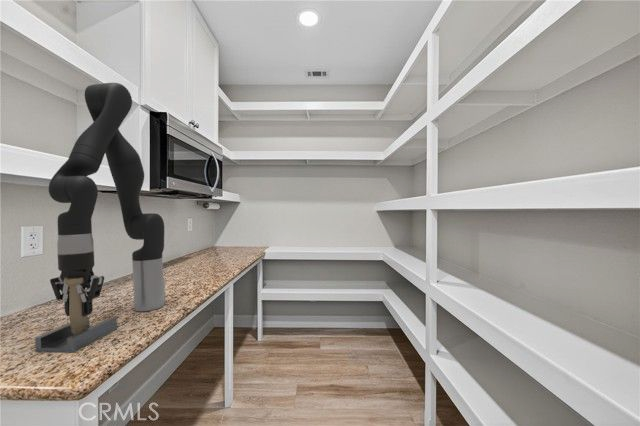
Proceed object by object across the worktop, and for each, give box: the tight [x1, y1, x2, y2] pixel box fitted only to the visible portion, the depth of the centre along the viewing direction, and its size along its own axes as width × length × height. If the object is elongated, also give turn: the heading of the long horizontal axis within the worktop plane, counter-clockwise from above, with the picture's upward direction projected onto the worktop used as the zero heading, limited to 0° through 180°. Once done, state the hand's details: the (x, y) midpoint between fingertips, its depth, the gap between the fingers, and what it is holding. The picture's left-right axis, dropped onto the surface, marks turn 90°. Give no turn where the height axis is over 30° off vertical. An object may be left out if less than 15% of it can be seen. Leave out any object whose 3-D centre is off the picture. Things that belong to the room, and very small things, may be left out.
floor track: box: [34, 316, 118, 353], centre depth 80 cm, size 14×10×4 cm
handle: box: [65, 278, 89, 335], centre depth 80 cm, size 5×6×15 cm
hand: (78, 314), depth 80 cm, fingers closed on handle, 4 cm apart
